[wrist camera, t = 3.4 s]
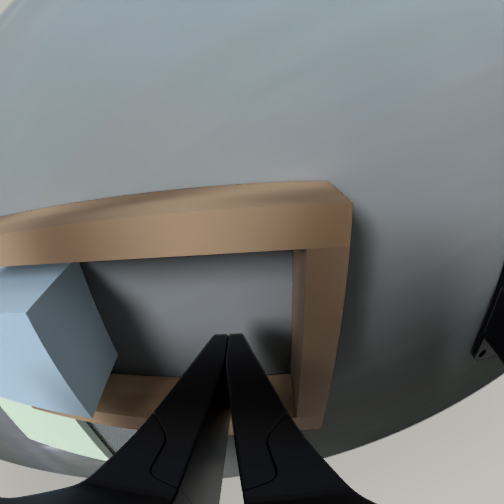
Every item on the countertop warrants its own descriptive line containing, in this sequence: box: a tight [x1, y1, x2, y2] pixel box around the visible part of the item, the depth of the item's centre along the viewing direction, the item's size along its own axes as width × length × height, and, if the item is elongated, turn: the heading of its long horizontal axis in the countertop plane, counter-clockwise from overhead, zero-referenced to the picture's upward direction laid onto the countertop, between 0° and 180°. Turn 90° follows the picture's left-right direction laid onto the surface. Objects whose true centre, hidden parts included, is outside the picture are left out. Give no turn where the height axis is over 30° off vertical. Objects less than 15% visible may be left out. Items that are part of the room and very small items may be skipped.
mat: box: [0, 397, 113, 461], centre depth 14 cm, size 8×8×1 cm
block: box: [0, 262, 118, 418], centre depth 9 cm, size 6×4×4 cm
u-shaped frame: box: [0, 181, 353, 435], centre depth 9 cm, size 13×8×2 cm, turn 93°
